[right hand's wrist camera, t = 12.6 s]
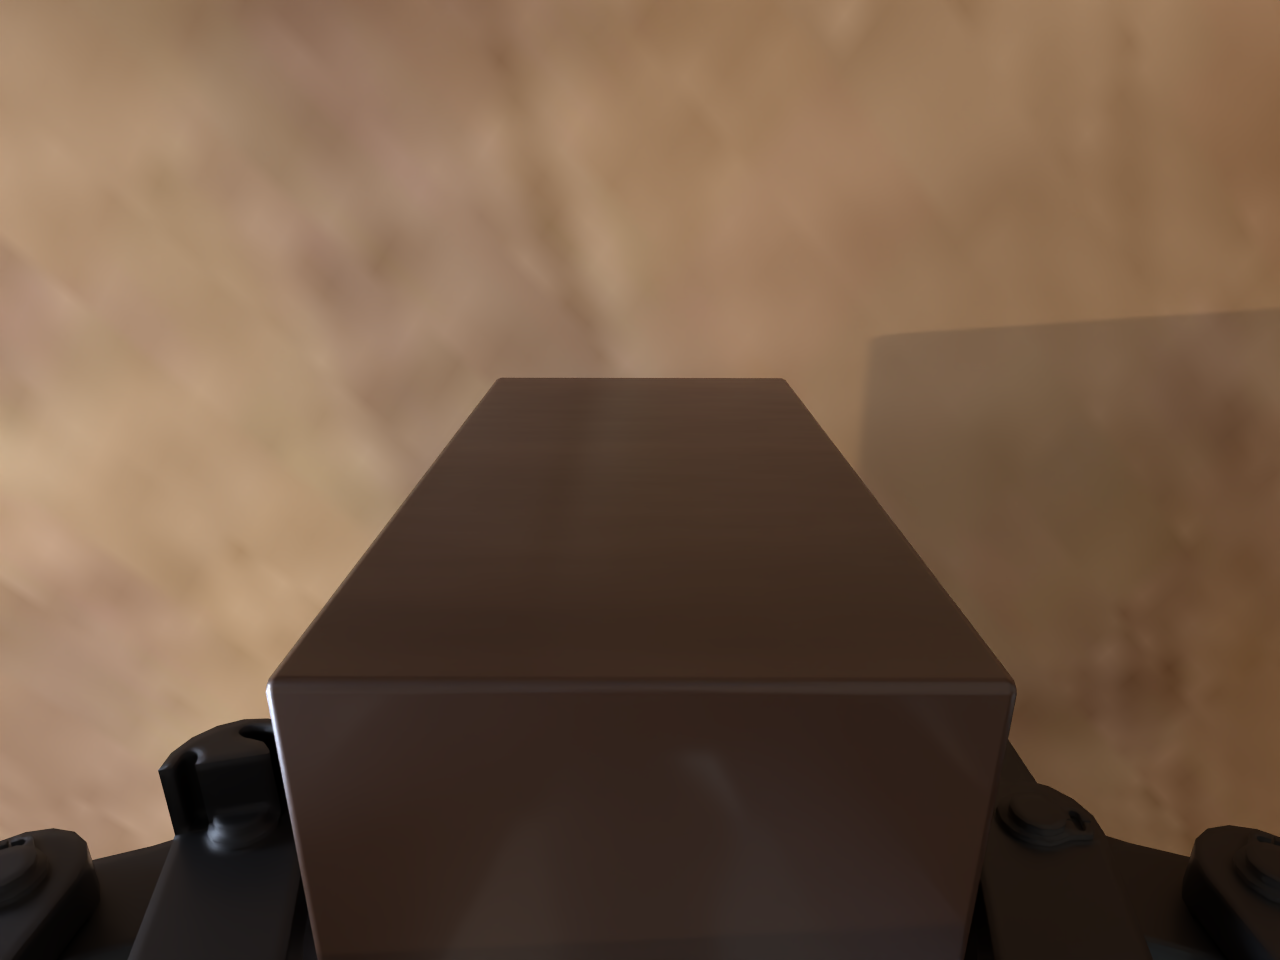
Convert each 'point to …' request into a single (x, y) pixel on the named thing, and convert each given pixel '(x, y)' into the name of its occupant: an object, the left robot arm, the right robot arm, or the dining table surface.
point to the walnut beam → (641, 699)
